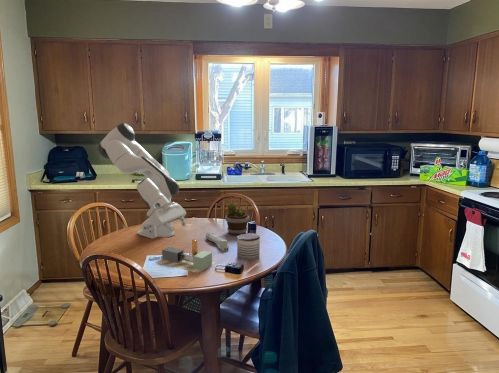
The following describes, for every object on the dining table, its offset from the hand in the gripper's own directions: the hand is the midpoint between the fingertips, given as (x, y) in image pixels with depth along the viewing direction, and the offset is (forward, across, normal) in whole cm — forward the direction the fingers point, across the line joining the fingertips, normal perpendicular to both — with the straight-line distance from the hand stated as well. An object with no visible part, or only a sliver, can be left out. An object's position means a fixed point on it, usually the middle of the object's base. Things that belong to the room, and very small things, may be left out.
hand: (179, 227), depth 180 cm
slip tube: (+16, 0, -7) cm, 17 cm away
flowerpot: (+14, -55, -13) cm, 58 cm away
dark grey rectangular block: (+8, 0, -15) cm, 17 cm away
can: (+32, -21, +4) cm, 38 cm away
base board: (+14, 0, -11) cm, 18 cm away
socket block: (+21, 0, -3) cm, 21 cm away
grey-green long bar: (+14, -30, -12) cm, 35 cm away
